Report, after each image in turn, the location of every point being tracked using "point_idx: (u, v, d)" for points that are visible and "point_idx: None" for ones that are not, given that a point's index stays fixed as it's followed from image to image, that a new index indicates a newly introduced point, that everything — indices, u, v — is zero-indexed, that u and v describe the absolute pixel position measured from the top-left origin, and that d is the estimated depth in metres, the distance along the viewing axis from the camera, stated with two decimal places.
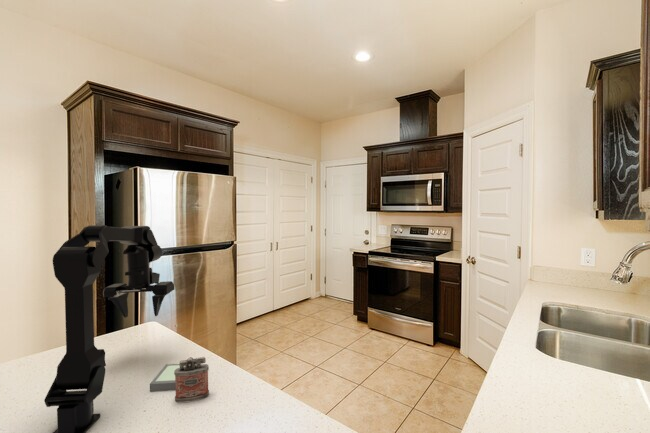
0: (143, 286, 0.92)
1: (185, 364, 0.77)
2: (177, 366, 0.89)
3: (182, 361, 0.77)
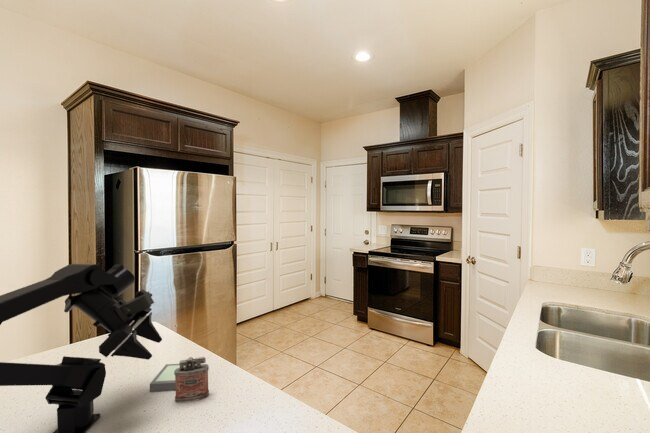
0: None
1: (185, 364, 0.77)
2: (177, 366, 0.89)
3: (182, 361, 0.77)
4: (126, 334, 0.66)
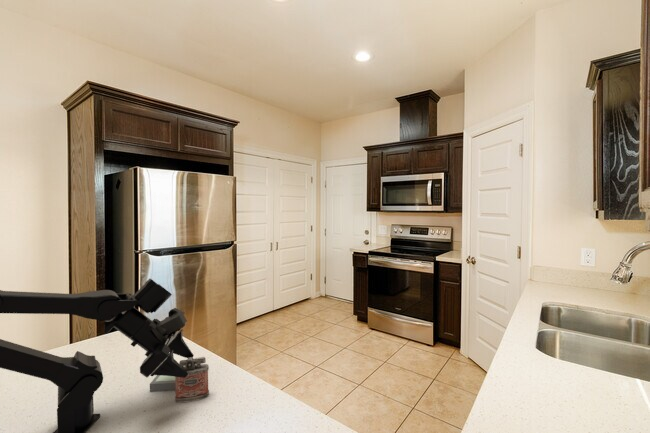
0: (148, 354, 0.73)
1: (185, 364, 0.77)
2: None
3: (182, 361, 0.77)
4: (165, 355, 0.68)
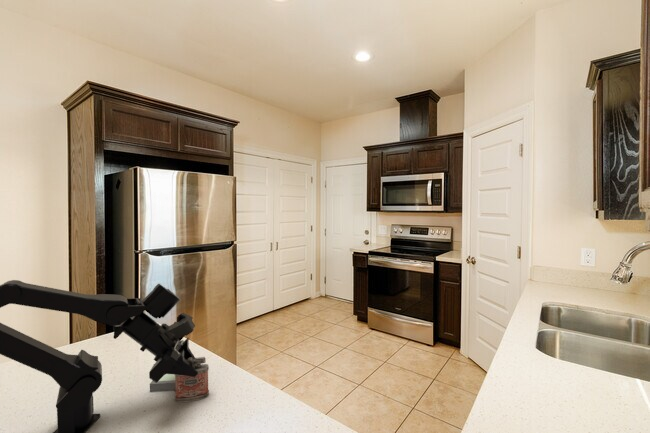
0: (157, 359, 0.73)
1: None
2: None
3: None
4: (174, 360, 0.68)
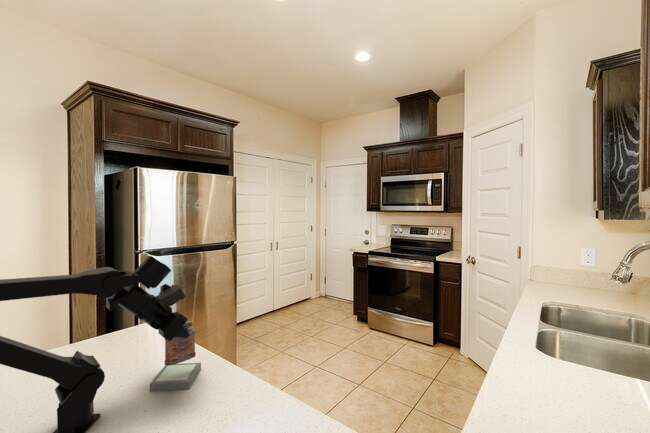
0: (154, 325, 0.77)
1: None
2: (177, 366, 0.89)
3: None
4: (186, 318, 0.76)
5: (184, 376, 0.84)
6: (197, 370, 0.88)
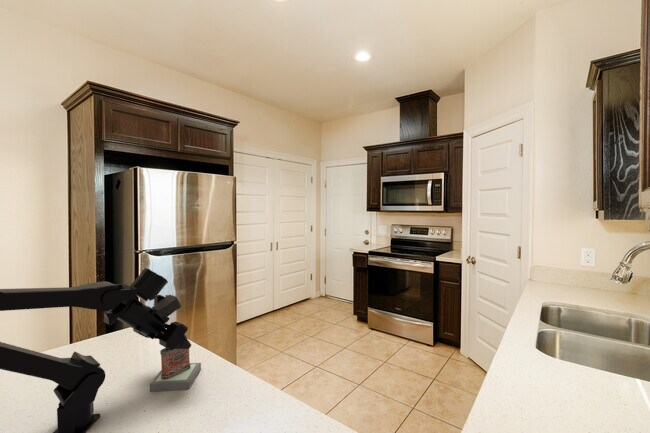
0: (153, 336, 0.78)
1: None
2: None
3: None
4: (186, 327, 0.79)
5: (184, 376, 0.84)
6: (197, 370, 0.88)
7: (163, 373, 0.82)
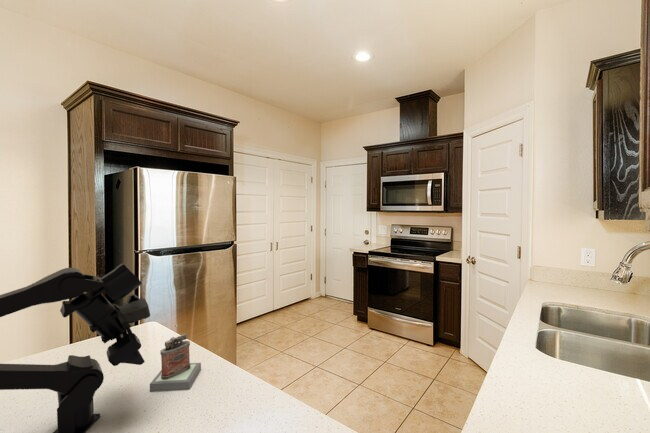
0: (106, 340, 0.71)
1: (172, 343, 0.84)
2: None
3: (168, 341, 0.84)
4: (139, 345, 0.70)
5: (184, 376, 0.84)
6: (197, 370, 0.88)
7: (163, 373, 0.82)
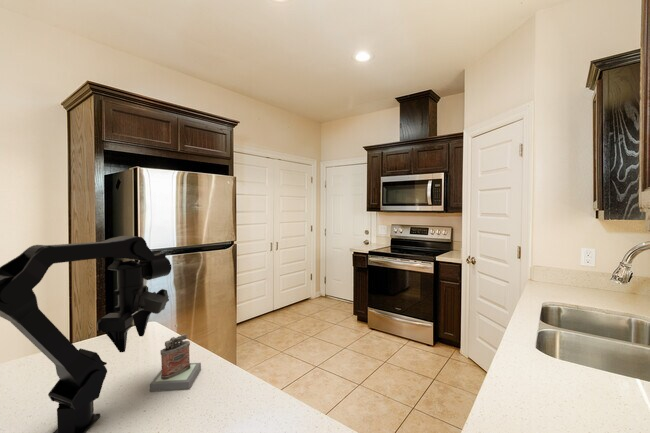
0: (117, 309, 0.77)
1: (172, 343, 0.84)
2: None
3: (168, 341, 0.84)
4: (124, 327, 0.71)
5: (184, 376, 0.84)
6: (197, 370, 0.88)
7: (163, 373, 0.82)
